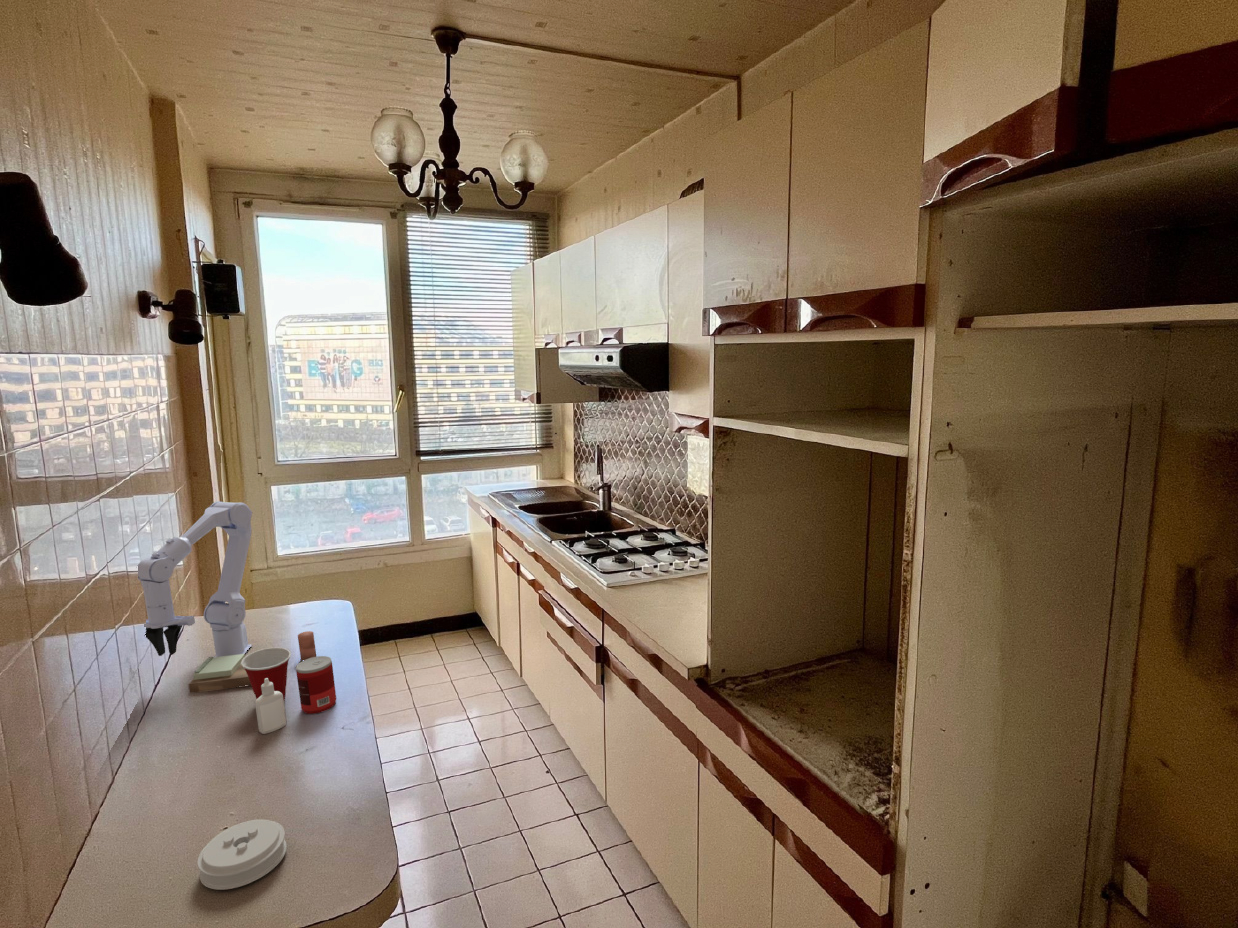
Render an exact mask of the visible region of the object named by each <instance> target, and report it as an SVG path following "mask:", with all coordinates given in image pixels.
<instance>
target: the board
mask: <svg viewBox="0 0 1238 928" xmlns="http://www.w3.org/2000/svg"><path fill="white" fill-rule="evenodd" d="M246 656H247V655H245V657H246ZM245 685H251V683H250V680H249V678H248V675H247V673H246V671H245V668H243V666H242V665H240V666H239V667H238V669H237V670H236V671H235V672H234V673H233V675H232V676H223V677H215V678H206V679H197V680H194V678H192V679H191V680H190V682H188V690H189V693H190V694H194V693H201V692H211V691H219V690H227V689H226V688H229V689H235V688H236V687H237V688H240V687H239V686H245ZM245 687H246V686H245ZM237 688H236V689H237Z"/></svg>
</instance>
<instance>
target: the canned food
mask: <svg viewBox="0 0 1238 928" xmlns="http://www.w3.org/2000/svg"><path fill="white" fill-rule="evenodd" d="M295 668H296V669H295V672H296V681H297V686H298V694H299V700H300V706H301V707H300V709H301V710H302V712H303V713H304V714H308V715H315V714H320V713H323V712H326V711H328V710H330V709H331V708H333V707H334V706H335V705H336V701H337V693H336V684H335V675H334V668H333V661H332V658H331V657H330V656H325V655H324V656H323V655H320V656H319V655H318V656H317V655H316V657H312V658H309V659H306V660H304V661H302V660H301V662H299V663H297V665H296V667H295Z"/></svg>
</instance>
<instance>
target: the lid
mask: <svg viewBox="0 0 1238 928" xmlns="http://www.w3.org/2000/svg"><path fill="white" fill-rule="evenodd" d="M285 835H286V833H285V828H284V827H283V825H281V823H278V821H274V820H269V819H251V820H247V821H243V822H240V823H237V824H235V825H232V826H230V827H228V828H226V829H224V830H223V831H221V832H220V833H218V834H217V835H216V836H215V837H213V838H212V839H211V840H210V841H209V842H208V843H207V844H205V846H204V847H203V849H201V851H200V853H199V855H198V857H197V867H198V870H199V879H200V882H201V884H202V886H204V887H206V888H209V889H212V890H219V891H221V890H222V891H224V890H231V889H237V888H240V887H243V886H245V885H248V884H251V883H253V882H254V881H257V880H259V879H260V878H262V877H264V876H266V875H267V874H268V873H270V872H271V871H273V870H274V869H275V867H277V865H279V864H280V862H281V861H282V860H283V858H284V856H285V855H286V853H287V848H288V846H287V842H286V839H285V837H286V836H285Z"/></svg>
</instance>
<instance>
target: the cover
mask: <svg viewBox="0 0 1238 928" xmlns="http://www.w3.org/2000/svg"><path fill="white" fill-rule="evenodd" d="M245 656H246V654H238V655H229V656H220V657H215V656H207V658H206V659H205V660H204V661H203V663H202V664H201V665H200V666H199V667H198V668H197V669H196V670H195V671H194V673H193V674H192V677H193V679H194V680H197V679H206V678H215V677H223V676H232V675H233V673H234V672H235V671H236V670H237V669H238V667H239V666H240V665H241V662H242V659H243V658H244V657H245Z"/></svg>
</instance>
